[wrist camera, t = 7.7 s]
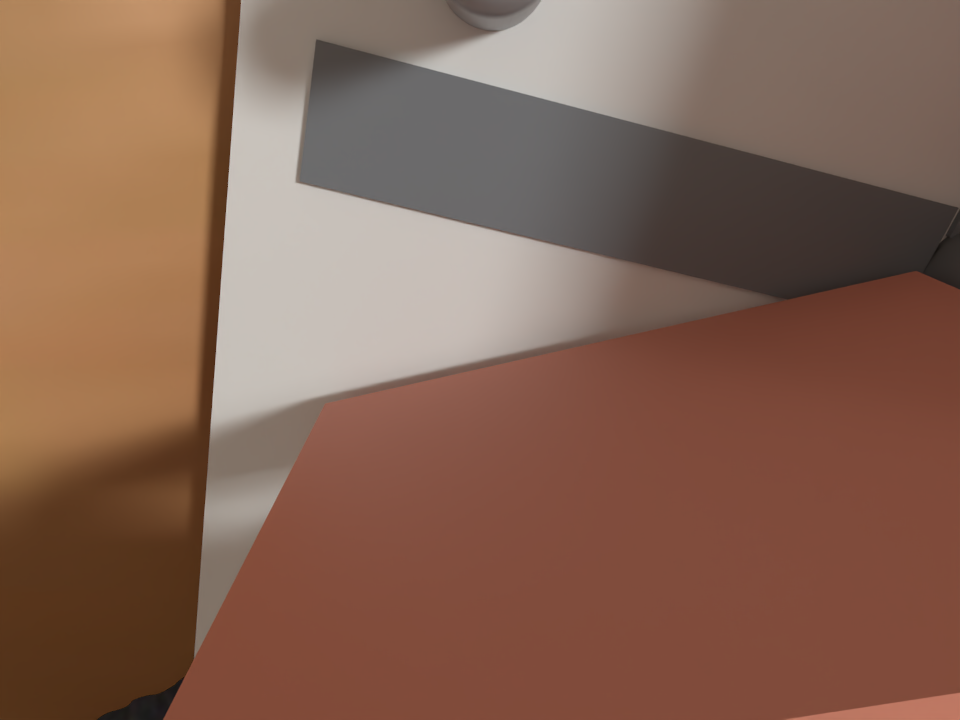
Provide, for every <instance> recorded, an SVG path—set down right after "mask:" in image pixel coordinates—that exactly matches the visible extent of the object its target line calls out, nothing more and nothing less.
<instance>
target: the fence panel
mask: <svg viewBox="0 0 960 720" xmlns="http://www.w3.org/2000/svg"><path fill="white" fill-rule="evenodd" d="M163 720H960V289H957V288H955V287H953V286H950V285H948V284H946V283H943V282H941V281H939V280H936V279H934V278H932V277H929V276H927V275H925V274H922V273H920V272H918V271H913V272H909V273H904V274H900V275H895V276H891V277H886V278H882V279H878V280H873V281H869V282H864V283H860V284H855V285H851V286H846V287H842V288H837V289H833V290H829V291H824V292H820V293H815V294H811V295H806V296H802V297H797V298H793V299H788V300H784V301H780V302H775V303H771V304H766V305H762V306H757V307H753V308H748V309H744V310H739V311H735V312H731V313H726V314H722V315H717V316H713V317H708V318H704V319H699V320H695V321H690V322H686V323H682V324H677V325H673V326H668V327H664V328H659V329H655V330H650V331H646V332H641V333H637V334H633V335H628V336H624V337H619V338H615V339H610V340H606V341H601V342H597V343H593V344H588V345H584V346H579V347H575V348H570V349H566V350H561V351H557V352H552V353H548V354H544V355H539V356H535V357H530V358H526V359H521V360H517V361H512V362H508V363H503V364H499V365H495V366H490V367H486V368H481V369H477V370H472V371H468V372H463V373H459V374H454V375H450V376H446V377H441V378H437V379H432V380H428V381H423V382H419V383H414V384H410V385H405V386H401V387H397V388H392V389H388V390H383V391H379V392H374V393H370V394H365V395H361V396H356V397H352V398H348V399H343V400H339V401H334V402H330V403H325V405H324V407H323V409H322V411H321V412H320V414H319V416H318V418H317V420H316V422H315V424H314V426H313V428H312V430H311V432H310V434H309V436H308V438H307V440H306V442H305V444H304V446H303V448H302V450H301V451H300V453H299V455H298V457H297V459H296V461H295V463H294V465H293V467H292V469H291V471H290V473H289V475H288V477H287V479H286V481H285V483H284V485H283V487H282V489H281V490H280V492H279V494H278V496H277V498H276V500H275V502H274V504H273V506H272V508H271V510H270V512H269V514H268V516H267V518H266V520H265V522H264V524H263V526H262V528H261V530H260V531H259V533H258V535H257V537H256V539H255V541H254V543H253V545H252V547H251V549H250V551H249V553H248V555H247V557H246V559H245V561H244V563H243V565H242V567H241V569H240V570H239V572H238V574H237V576H236V578H235V580H234V582H233V584H232V586H231V588H230V590H229V592H228V594H227V596H226V598H225V600H224V602H223V604H222V606H221V608H220V610H219V611H218V613H217V615H216V617H215V619H214V621H213V623H212V625H211V627H210V629H209V631H208V633H207V635H206V637H205V639H204V641H203V643H202V645H201V647H200V649H199V650H198V652H197V654H196V656H195V658H194V660H193V662H192V664H191V666H190V668H189V670H188V672H187V674H186V676H185V678H184V680H183V682H182V684H181V686H180V688H179V690H178V691H177V693H176V695H175V697H174V699H173V701H172V703H171V705H170V707H169V709H168V711H167V713H166V715H165V717H164V719H163Z"/></svg>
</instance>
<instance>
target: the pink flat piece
mask: <svg viewBox="0 0 960 720" xmlns="http://www.w3.org/2000/svg"><path fill="white" fill-rule="evenodd" d="M923 274H925V275H927V276H929V277H932V278H934V279H936V280H939V281H941V282H943V283H946V284H948V285H950V286H953V287H955V288H957V289H960V233H958V234H957V235H956V236H954V237H953V238H951V237H948V236H947V237H946V238H945V239H944V240H943V241H941V242H940V243H939V245H938V247H937V249H936V251H935V252H934V254H933V256H932V258H931V260H930V262H929V263H928V265H927V267H926V269H925V271H924V273H923Z"/></svg>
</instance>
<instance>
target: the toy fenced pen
mask: <svg viewBox="0 0 960 720" xmlns="http://www.w3.org/2000/svg"><path fill="white" fill-rule="evenodd" d="M958 233H960V0H241V11H240V25H239V38H238V52H237V66H236V80H235V94H234V108H233V122H232V136H231V150H230V164H229V178H228V192H227V206H226V220H225V234H224V248H223V262H222V275H221V289H220V303H219V317H218V331H217V345H216V359H215V373H214V387H213V401H212V415H211V429H210V443H209V457H208V471H207V485H206V499H205V512H204V526H203V540H202V554H201V568H200V582H199V596H198V610H197V624H196V638H195V652H194V658H195V656H196V654H197V652H198V650H199V649H200V647H201V645H202V643H203V641H204V639H205V637H206V635H207V633H208V631H209V629H210V627H211V625H212V623H213V621H214V619H215V617H216V615H217V613H218V611H219V610H220V608H221V606H222V604H223V602H224V600H225V598H226V596H227V594H228V592H229V590H230V588H231V586H232V584H233V582H234V580H235V578H236V576H237V574H238V572H239V570H240V569H241V567H242V565H243V563H244V561H245V559H246V557H247V555H248V553H249V551H250V549H251V547H252V545H253V543H254V541H255V539H256V537H257V535H258V533H259V531H260V530H261V528H262V526H263V524H264V522H265V520H266V518H267V516H268V514H269V512H270V510H271V508H272V506H273V504H274V502H275V500H276V498H277V496H278V494H279V492H280V490H281V489H282V487H283V485H284V483H285V481H286V479H287V477H288V475H289V473H290V471H291V469H292V467H293V465H294V463H295V461H296V459H297V457H298V455H299V453H300V451H301V450H302V448H303V446H304V444H305V442H306V440H307V438H308V436H309V434H310V432H311V430H312V428H313V426H314V424H315V422H316V420H317V418H318V416H319V414H320V412H321V411H322V409H323V407H324V405H325V403H330V402H334V401H339V400H343V399H348V398H352V397H356V396H361V395H365V394H370V393H374V392H379V391H383V390H388V389H392V388H397V387H401V386H405V385H410V384H414V383H419V382H423V381H428V380H432V379H437V378H441V377H446V376H450V375H454V374H459V373H463V372H468V371H472V370H477V369H481V368H486V367H490V366H495V365H499V364H503V363H508V362H512V361H517V360H521V359H526V358H530V357H535V356H539V355H544V354H548V353H552V352H557V351H561V350H566V349H570V348H575V347H579V346H584V345H588V344H593V343H597V342H601V341H606V340H610V339H615V338H619V337H624V336H628V335H633V334H637V333H641V332H646V331H650V330H655V329H659V328H664V327H668V326H673V325H677V324H682V323H686V322H690V321H695V320H699V319H704V318H708V317H713V316H717V315H722V314H726V313H731V312H735V311H739V310H744V309H748V308H753V307H757V306H762V305H766V304H771V303H775V302H780V301H784V300H788V299H793V298H797V297H802V296H806V295H811V294H815V293H820V292H824V291H829V290H833V289H837V288H842V287H846V286H851V285H855V284H860V283H864V282H869V281H873V280H878V279H882V278H886V277H891V276H895V275H900V274H904V273H909V272H913V271H918V272H920V273H922V274H923V273H924V271H925V269H926V267H927V265H928V263H929V262H930V260H931V258H932V256H933V254H934V252H935V251H936V249H937V247H938V245H939V243H940V242H941V241H943V240H944V239H945V238H946V237H947V236H948V237H951V238H953V237H954V236H956V235H957V234H958Z"/></svg>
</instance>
